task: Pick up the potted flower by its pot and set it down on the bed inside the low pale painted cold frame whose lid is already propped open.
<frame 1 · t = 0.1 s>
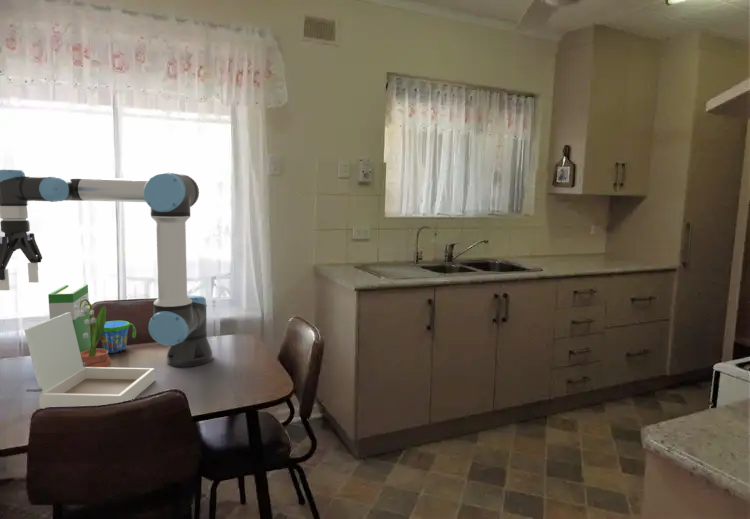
hand: (19, 286, 165), 28 cm above the table, fingers open, 13 cm apart
snack cup: (114, 351, 191), on the table
hardback book: (72, 355, 185), on the table
cold frame: (101, 393, 152), on the table
potted flower: (92, 370, 170), on the table
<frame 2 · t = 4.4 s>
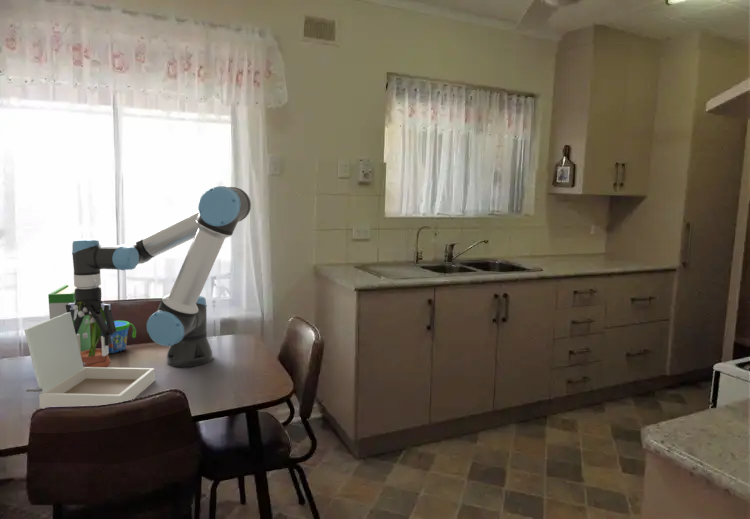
hand: (91, 354, 170), 5 cm above the table, fingers closed on potted flower, 8 cm apart
potted flower: (91, 370, 170), on the table, touching gripper
everything else where it was.
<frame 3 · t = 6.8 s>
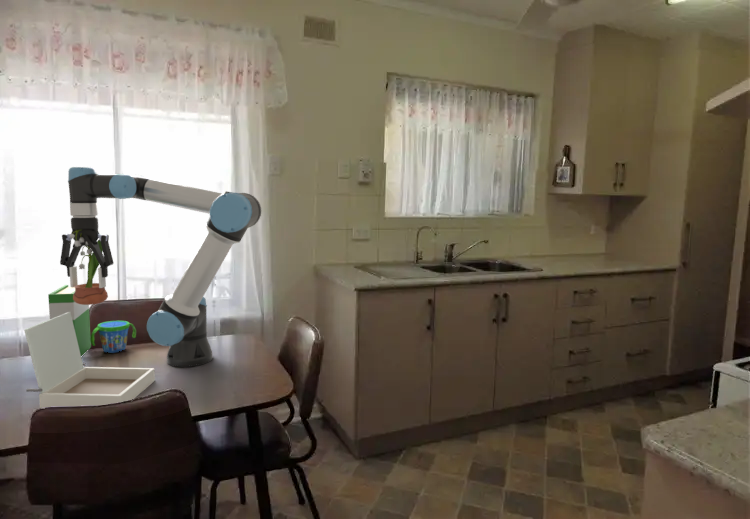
hand: (88, 287, 167), 28 cm above the table, fingers closed on potted flower, 8 cm apart
potted flower: (88, 303, 167), point 22 cm above the table, touching gripper
everything else where it was.
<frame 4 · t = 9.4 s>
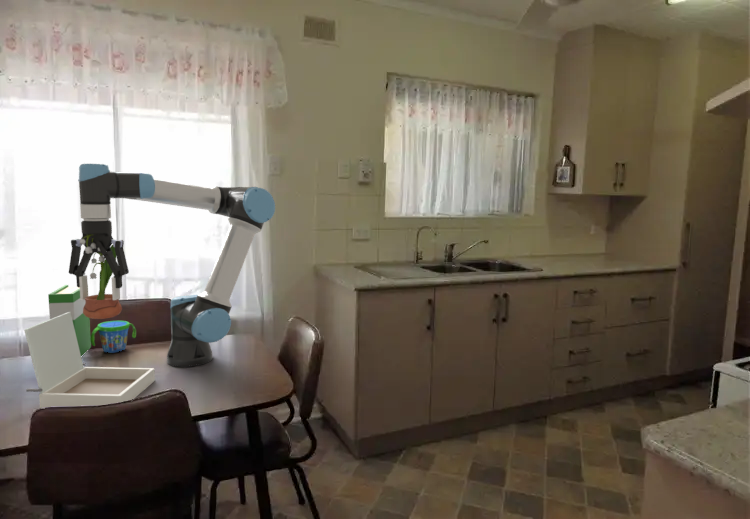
hand: (100, 298, 148), 28 cm above the table, fingers closed on potted flower, 8 cm apart
potted flower: (100, 317, 148), point 23 cm above the table, touching gripper
everything else where it was.
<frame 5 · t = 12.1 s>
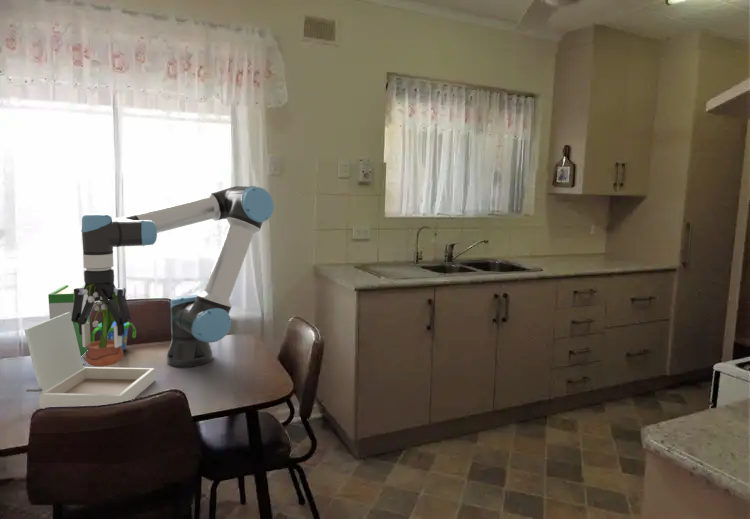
hand: (102, 345, 150), 14 cm above the table, fingers closed on potted flower, 8 cm apart
potted flower: (102, 364, 150), point 9 cm above the table, touching gripper
everything else where it was.
when the fingers open (8 cm above the table, at t = 14.3 s): potted flower drops 2 cm, resting on cold frame.
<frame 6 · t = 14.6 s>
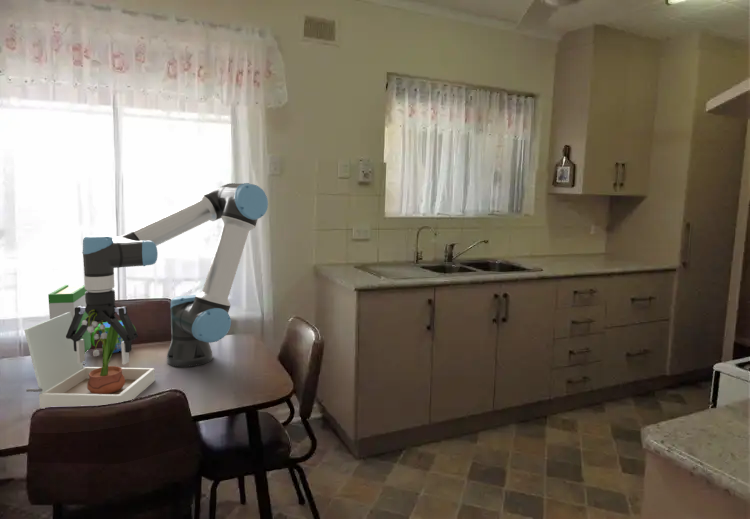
hand: (103, 362, 150), 9 cm above the table, fingers open, 12 cm apart
potted flower: (104, 391, 152), point 1 cm above the table, touching cold frame
everything else where it was.
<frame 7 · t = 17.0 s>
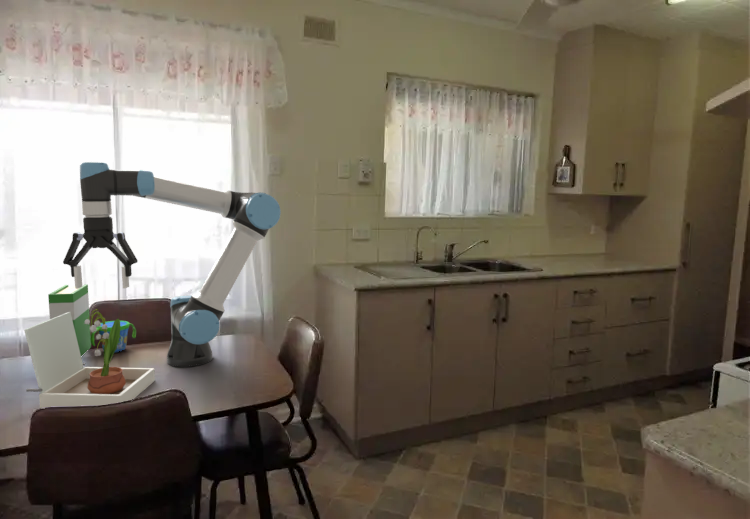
hand: (102, 287, 154), 30 cm above the table, fingers open, 13 cm apart
nothing on the table moved.
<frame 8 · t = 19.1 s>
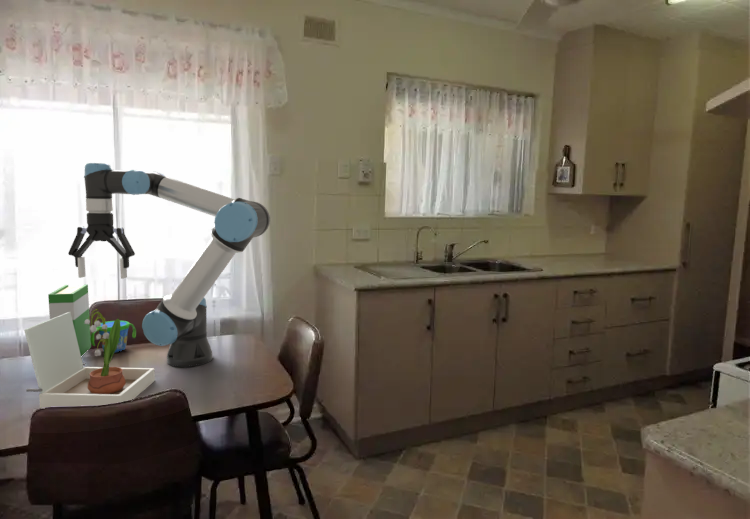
hand: (103, 277, 168), 31 cm above the table, fingers open, 13 cm apart
nothing on the table moved.
at the end: potted flower inside the target area on the cold frame (0.9 cm from its centre), point 0.4 cm above the cold frame's base; potted flower tilted 0°; the gripper is holding nothing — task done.
